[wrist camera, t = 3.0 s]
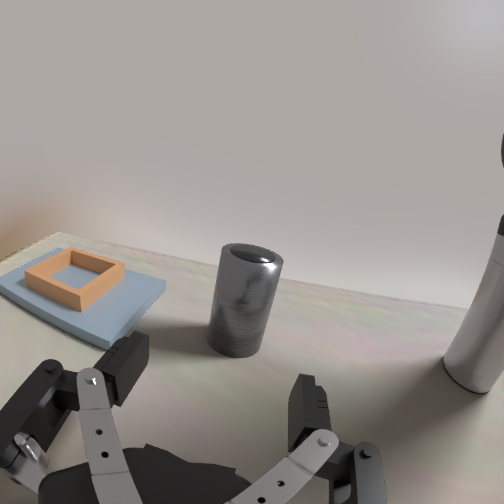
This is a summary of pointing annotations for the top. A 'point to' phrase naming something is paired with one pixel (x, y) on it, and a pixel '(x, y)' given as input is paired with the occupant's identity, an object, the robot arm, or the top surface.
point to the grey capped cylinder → (243, 299)
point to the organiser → (83, 294)
